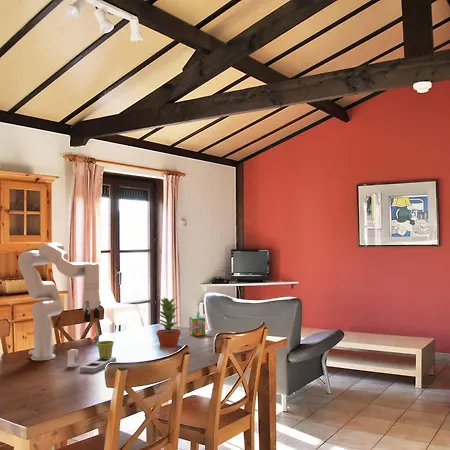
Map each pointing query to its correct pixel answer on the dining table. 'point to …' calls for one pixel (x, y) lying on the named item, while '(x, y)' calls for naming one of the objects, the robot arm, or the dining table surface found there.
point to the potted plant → (168, 325)
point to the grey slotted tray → (97, 365)
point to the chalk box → (197, 325)
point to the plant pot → (105, 348)
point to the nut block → (73, 358)
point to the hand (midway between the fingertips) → (91, 319)
